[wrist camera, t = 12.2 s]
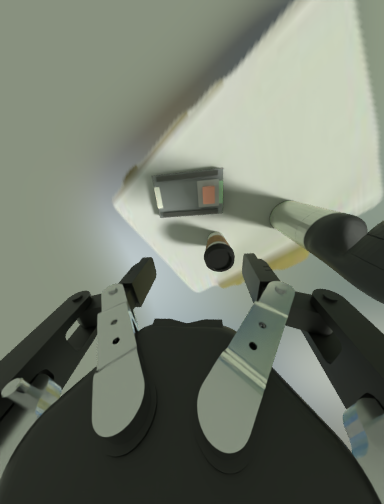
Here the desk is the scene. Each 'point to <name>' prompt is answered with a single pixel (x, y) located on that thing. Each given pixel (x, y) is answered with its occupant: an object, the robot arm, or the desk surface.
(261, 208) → the desk surface
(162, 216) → the switch box
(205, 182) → the handle
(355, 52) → the desk surface
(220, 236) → the coffee cup
